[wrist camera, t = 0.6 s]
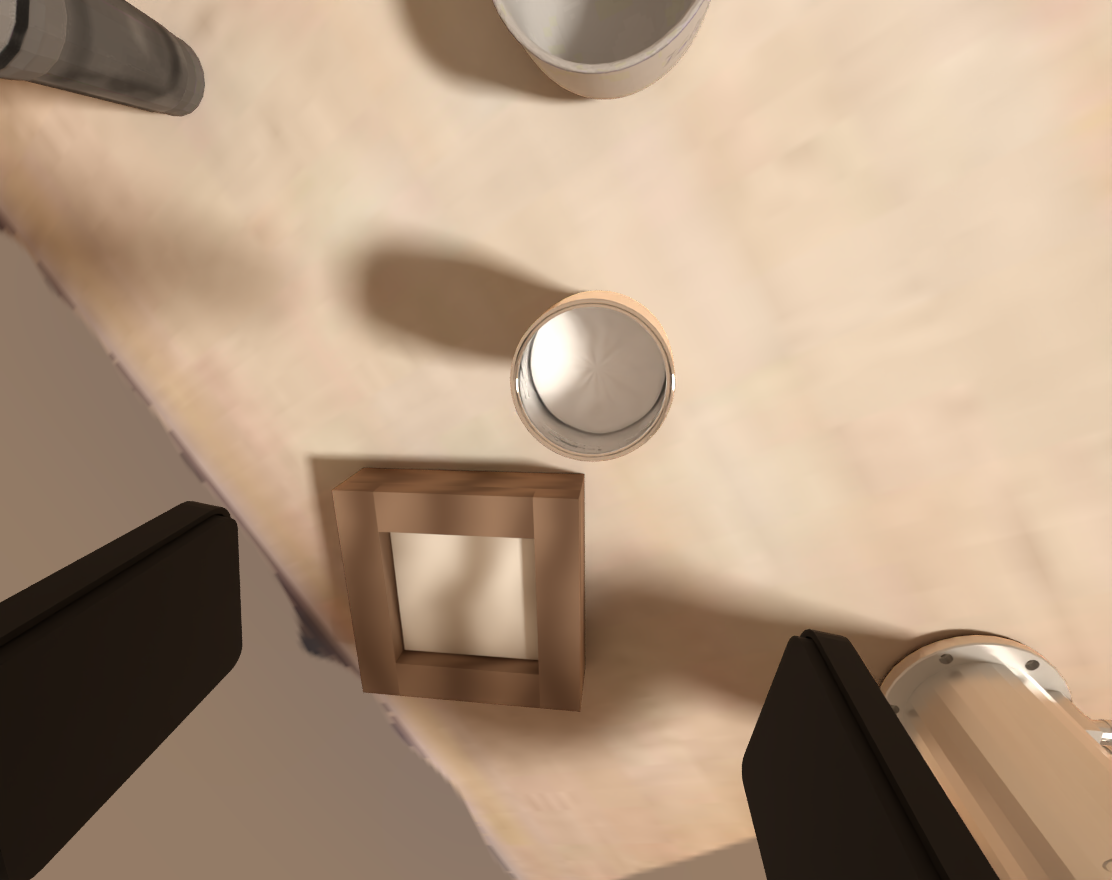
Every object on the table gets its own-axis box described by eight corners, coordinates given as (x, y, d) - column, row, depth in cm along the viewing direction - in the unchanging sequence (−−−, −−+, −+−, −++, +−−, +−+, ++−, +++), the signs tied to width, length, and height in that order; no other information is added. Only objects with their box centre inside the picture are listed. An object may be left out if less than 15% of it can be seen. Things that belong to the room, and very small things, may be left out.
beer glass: (574, 405, 36) (538, 485, 22) (540, 308, 35) (479, 328, 20) (672, 374, 35) (701, 439, 21) (641, 271, 33) (651, 265, 19)
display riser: (584, 474, 38) (578, 498, 33) (585, 668, 43) (580, 711, 38) (363, 467, 40) (331, 490, 36) (388, 653, 45) (363, 692, 41)
